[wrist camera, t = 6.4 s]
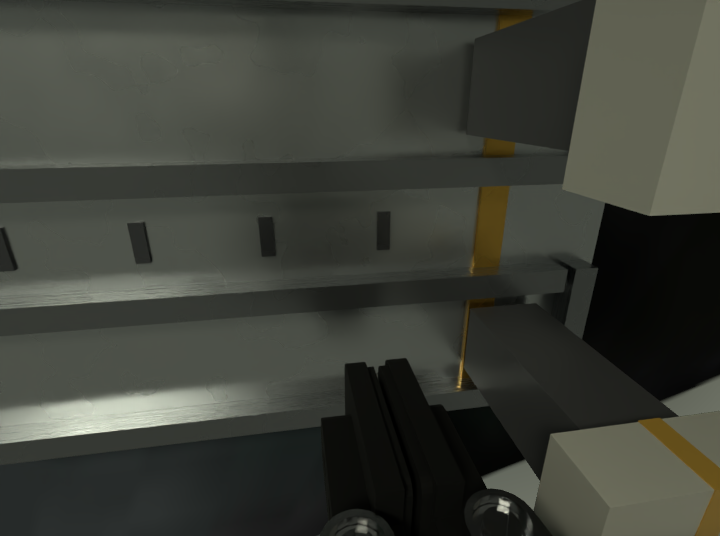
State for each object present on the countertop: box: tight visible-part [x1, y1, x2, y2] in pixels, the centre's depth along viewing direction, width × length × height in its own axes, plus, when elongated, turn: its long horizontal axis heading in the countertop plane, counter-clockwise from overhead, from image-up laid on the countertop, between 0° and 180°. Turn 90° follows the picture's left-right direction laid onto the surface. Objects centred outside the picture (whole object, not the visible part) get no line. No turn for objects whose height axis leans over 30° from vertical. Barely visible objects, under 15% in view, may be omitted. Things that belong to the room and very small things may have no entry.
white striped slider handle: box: [466, 0, 720, 216], centre depth 8 cm, size 3×4×8 cm
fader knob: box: [464, 303, 720, 536], centre depth 11 cm, size 3×4×8 cm
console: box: [0, 0, 605, 465], centre depth 13 cm, size 14×22×3 cm, turn 90°
